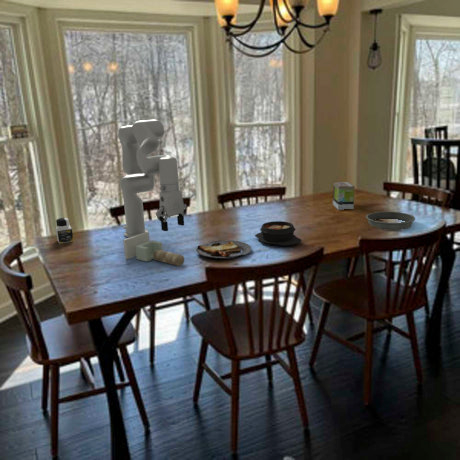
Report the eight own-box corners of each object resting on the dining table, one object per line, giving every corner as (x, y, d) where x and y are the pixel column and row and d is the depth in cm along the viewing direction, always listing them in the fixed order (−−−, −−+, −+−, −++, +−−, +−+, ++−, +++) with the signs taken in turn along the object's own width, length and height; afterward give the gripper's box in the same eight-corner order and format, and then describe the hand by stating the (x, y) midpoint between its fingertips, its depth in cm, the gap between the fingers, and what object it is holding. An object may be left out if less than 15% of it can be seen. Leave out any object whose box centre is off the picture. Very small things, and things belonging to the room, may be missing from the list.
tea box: (354, 209, 272) (355, 185, 268) (337, 210, 273) (338, 186, 268) (348, 204, 287) (349, 181, 283) (332, 204, 287) (333, 181, 283)
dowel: (153, 261, 198) (152, 251, 197) (161, 258, 202) (160, 248, 200) (176, 267, 190) (176, 256, 188) (184, 264, 193) (183, 253, 192)
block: (136, 259, 201) (135, 246, 199) (153, 252, 208) (152, 240, 207) (146, 261, 197) (145, 248, 195) (163, 255, 204) (162, 242, 203)
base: (125, 258, 202) (123, 239, 200) (148, 250, 213) (146, 231, 210) (127, 259, 201) (125, 240, 199) (150, 250, 212) (148, 232, 210)
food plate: (207, 264, 191) (207, 256, 190) (189, 249, 212) (189, 242, 211) (259, 256, 200) (259, 248, 200) (238, 242, 221) (237, 236, 220)
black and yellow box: (59, 244, 228) (55, 221, 225) (57, 240, 234) (53, 218, 231) (73, 241, 231) (70, 219, 228) (71, 238, 237) (68, 216, 234)
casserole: (246, 240, 222) (245, 224, 220) (273, 232, 233) (273, 216, 231) (282, 252, 203) (282, 234, 201) (310, 243, 214) (310, 226, 212)
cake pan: (394, 217, 254) (394, 209, 253) (425, 228, 231) (425, 219, 230) (356, 222, 247) (356, 214, 246) (384, 233, 224) (384, 225, 223)
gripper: (161, 192, 175) (164, 234, 180) (190, 184, 188) (193, 224, 193) (147, 190, 180) (151, 231, 184) (177, 183, 193) (180, 222, 197)
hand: (173, 227), depth 189 cm, fingers open, 9 cm apart
